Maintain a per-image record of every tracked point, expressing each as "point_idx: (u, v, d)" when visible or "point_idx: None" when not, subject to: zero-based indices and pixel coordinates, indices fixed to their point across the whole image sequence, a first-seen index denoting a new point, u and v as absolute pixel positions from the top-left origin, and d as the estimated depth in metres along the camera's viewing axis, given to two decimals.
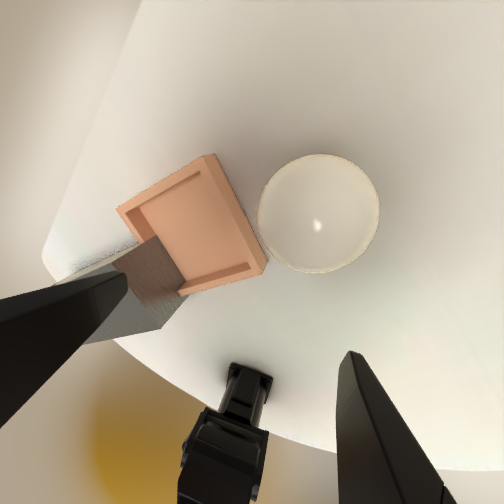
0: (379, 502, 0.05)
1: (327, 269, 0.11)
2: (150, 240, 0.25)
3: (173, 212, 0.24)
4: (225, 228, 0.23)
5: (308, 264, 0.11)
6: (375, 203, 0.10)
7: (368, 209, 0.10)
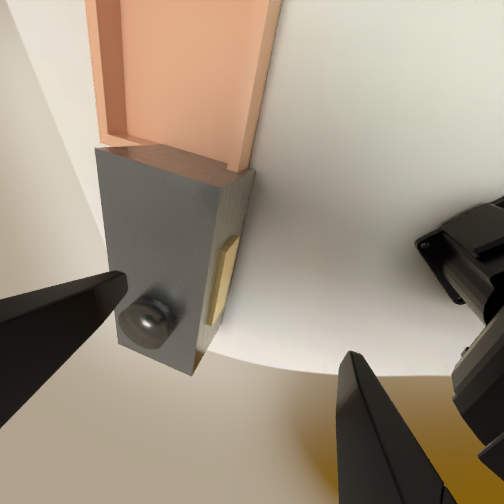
0: (379, 502, 0.05)
1: None
2: (155, 145, 0.18)
3: (147, 86, 0.17)
4: (198, 10, 0.14)
5: None
6: None
7: None
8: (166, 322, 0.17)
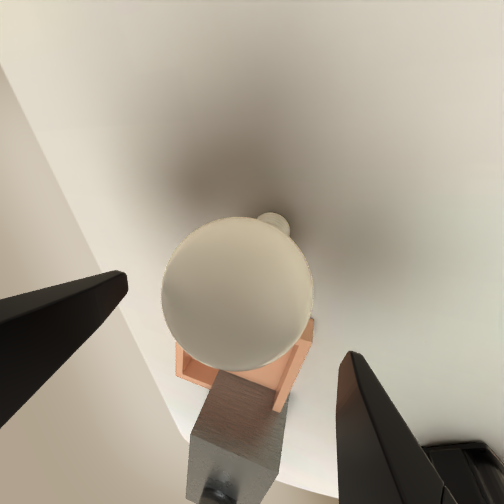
0: (379, 502, 0.05)
1: (276, 349, 0.08)
2: (216, 379, 0.24)
3: None
4: None
5: (248, 364, 0.08)
6: (240, 245, 0.07)
7: (231, 262, 0.07)
8: None
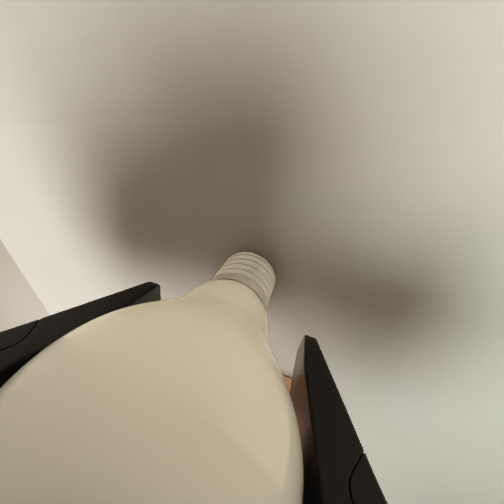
0: (304, 469, 0.05)
1: None
2: None
3: None
4: None
5: None
6: (75, 476, 0.02)
7: None
8: None
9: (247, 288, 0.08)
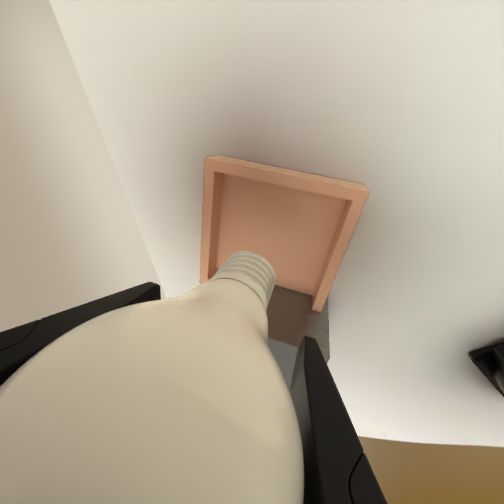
0: (304, 469, 0.05)
1: None
2: None
3: (238, 241, 0.21)
4: (289, 201, 0.18)
5: None
6: (75, 475, 0.02)
7: None
8: None
9: (247, 287, 0.08)
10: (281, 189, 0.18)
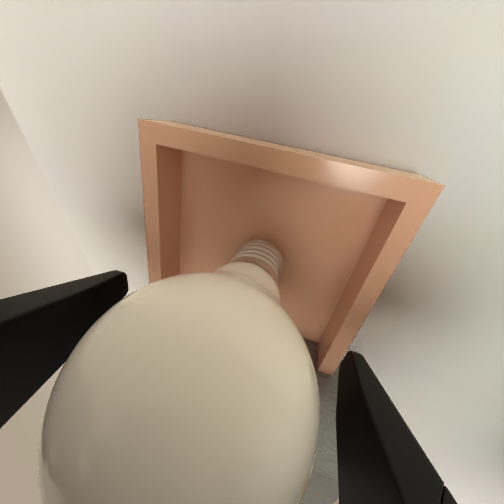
0: (379, 502, 0.05)
1: None
2: None
3: (209, 259, 0.14)
4: (286, 201, 0.11)
5: None
6: (175, 368, 0.04)
7: (149, 419, 0.03)
8: None
9: (262, 268, 0.09)
10: (274, 180, 0.11)
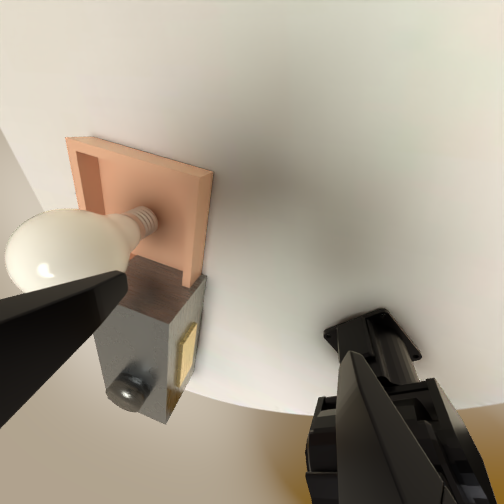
0: (379, 502, 0.05)
1: None
2: (130, 260, 0.24)
3: None
4: (155, 184, 0.20)
5: None
6: (44, 225, 0.13)
7: (33, 235, 0.12)
8: (141, 394, 0.23)
9: (128, 217, 0.18)
10: (146, 172, 0.20)
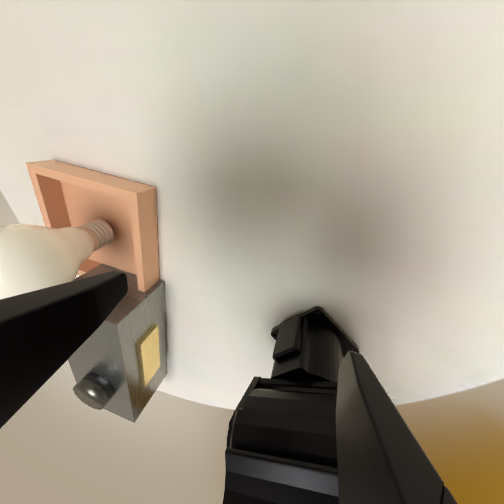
0: (379, 502, 0.05)
1: (12, 291, 0.15)
2: (94, 269, 0.26)
3: None
4: (108, 200, 0.22)
5: None
6: None
7: None
8: (105, 392, 0.25)
9: (81, 229, 0.21)
10: None
